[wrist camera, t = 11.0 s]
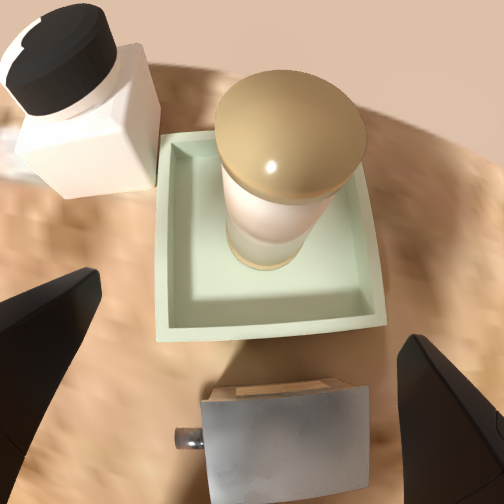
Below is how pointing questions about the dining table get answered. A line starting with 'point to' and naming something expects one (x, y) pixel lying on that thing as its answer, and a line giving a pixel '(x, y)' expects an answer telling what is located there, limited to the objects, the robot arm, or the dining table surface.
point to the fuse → (283, 160)
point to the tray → (250, 280)
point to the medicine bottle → (83, 104)
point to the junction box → (283, 440)
